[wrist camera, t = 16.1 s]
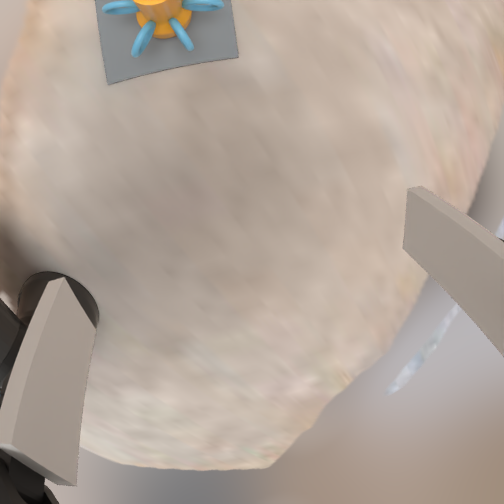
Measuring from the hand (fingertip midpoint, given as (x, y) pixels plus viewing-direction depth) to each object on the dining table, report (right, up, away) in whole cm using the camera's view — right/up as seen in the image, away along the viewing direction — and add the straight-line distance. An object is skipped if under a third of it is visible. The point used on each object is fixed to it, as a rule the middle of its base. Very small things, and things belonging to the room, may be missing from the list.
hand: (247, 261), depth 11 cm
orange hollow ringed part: (-10, +28, +17) cm, 34 cm away
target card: (-10, +28, +17) cm, 35 cm away
